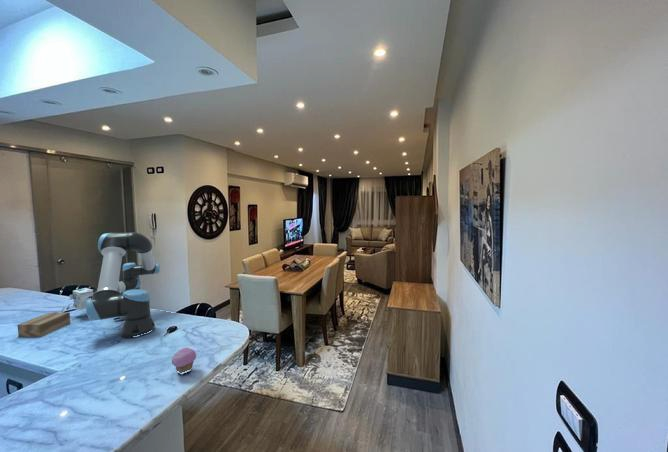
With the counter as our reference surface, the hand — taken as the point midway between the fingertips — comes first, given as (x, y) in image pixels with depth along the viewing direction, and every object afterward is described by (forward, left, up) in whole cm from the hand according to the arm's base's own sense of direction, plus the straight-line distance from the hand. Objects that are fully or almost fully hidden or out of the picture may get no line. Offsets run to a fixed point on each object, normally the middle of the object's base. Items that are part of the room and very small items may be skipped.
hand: (75, 298), depth 162 cm
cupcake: (-108, +17, -13) cm, 110 cm away
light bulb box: (0, -4, -7) cm, 8 cm away
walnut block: (0, +14, -14) cm, 20 cm away
